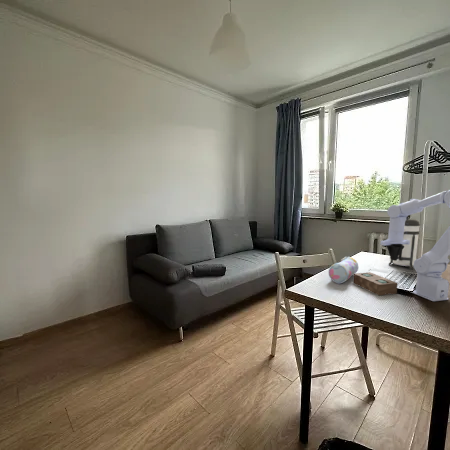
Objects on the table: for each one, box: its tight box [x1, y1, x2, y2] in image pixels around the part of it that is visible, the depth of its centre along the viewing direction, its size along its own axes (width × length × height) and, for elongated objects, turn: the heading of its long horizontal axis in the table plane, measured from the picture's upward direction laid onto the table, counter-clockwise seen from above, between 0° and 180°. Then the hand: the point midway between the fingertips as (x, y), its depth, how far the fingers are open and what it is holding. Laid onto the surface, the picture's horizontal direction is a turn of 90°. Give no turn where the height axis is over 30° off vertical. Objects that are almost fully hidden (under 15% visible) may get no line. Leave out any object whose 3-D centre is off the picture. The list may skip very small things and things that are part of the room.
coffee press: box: [388, 215, 421, 271], centre depth 134 cm, size 17×16×30 cm
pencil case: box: [328, 256, 359, 284], centre depth 116 cm, size 21×9×10 cm, turn 138°
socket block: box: [352, 271, 398, 296], centre depth 104 cm, size 14×9×4 cm, turn 12°
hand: (393, 259), depth 111 cm, fingers closed
